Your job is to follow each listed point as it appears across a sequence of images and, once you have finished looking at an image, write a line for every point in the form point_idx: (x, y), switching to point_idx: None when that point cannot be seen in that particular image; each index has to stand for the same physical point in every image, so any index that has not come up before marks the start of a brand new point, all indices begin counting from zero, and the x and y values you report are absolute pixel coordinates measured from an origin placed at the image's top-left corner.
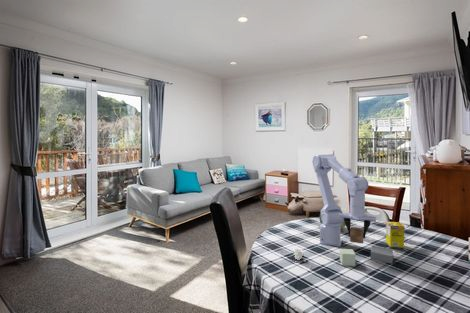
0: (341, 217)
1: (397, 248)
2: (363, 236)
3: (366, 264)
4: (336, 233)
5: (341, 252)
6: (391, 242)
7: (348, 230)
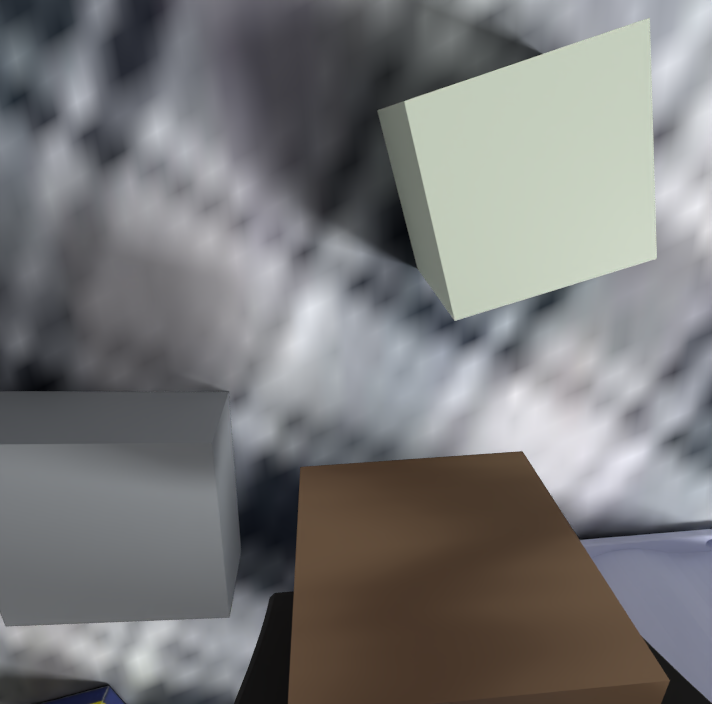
0: None
1: (51, 702)
2: None
3: (253, 237)
4: None
5: (645, 104)
6: None
7: (678, 686)
